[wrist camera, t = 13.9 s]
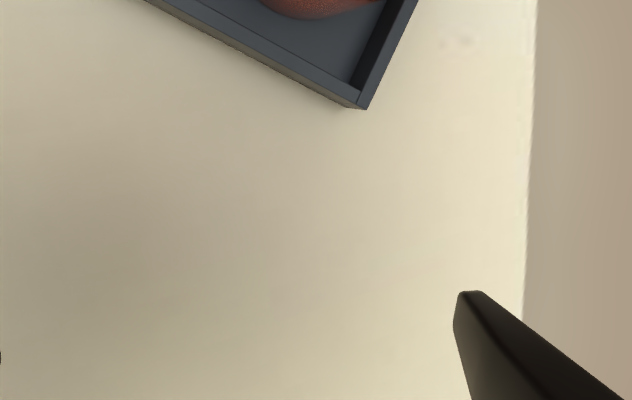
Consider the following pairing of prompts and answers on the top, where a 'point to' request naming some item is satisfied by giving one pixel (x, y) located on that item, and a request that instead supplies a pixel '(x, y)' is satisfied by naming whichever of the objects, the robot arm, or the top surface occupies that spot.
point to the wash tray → (307, 42)
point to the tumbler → (314, 7)
